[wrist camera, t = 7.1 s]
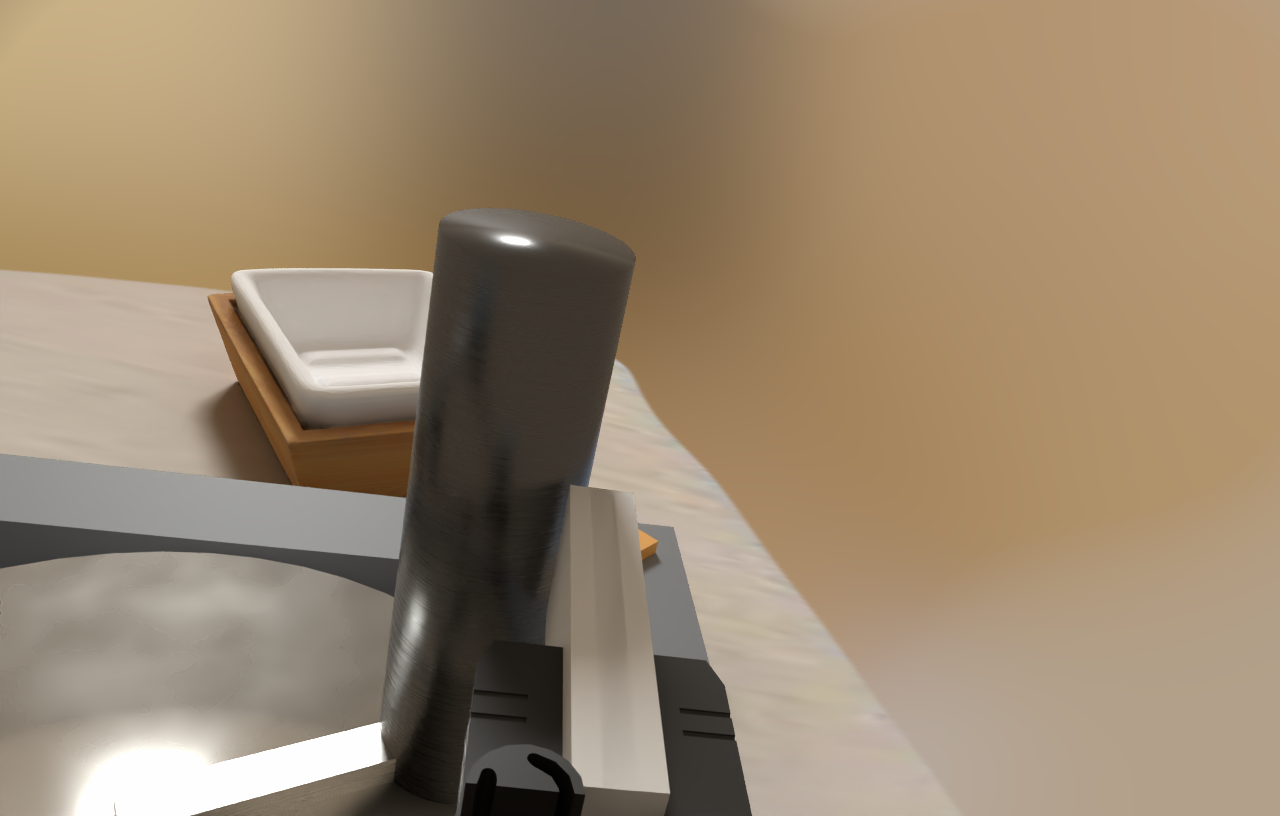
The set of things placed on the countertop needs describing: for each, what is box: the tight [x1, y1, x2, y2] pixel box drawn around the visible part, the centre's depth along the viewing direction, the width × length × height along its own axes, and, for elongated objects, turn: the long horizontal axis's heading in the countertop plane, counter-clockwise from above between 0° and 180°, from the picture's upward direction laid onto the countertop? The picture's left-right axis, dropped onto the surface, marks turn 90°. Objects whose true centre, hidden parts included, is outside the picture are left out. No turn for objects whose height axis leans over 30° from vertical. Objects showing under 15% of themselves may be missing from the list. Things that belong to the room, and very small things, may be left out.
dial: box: [0, 208, 636, 816], centre depth 15 cm, size 17×17×13 cm
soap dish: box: [208, 268, 433, 497], centre depth 39 cm, size 12×10×5 cm
